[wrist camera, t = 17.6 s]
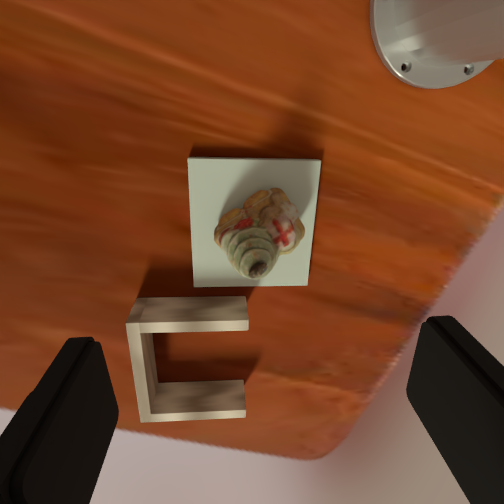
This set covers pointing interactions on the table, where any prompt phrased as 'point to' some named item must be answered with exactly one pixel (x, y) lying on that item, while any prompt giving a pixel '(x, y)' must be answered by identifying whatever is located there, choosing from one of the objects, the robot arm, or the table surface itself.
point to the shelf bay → (183, 393)
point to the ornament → (259, 232)
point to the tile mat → (233, 196)
